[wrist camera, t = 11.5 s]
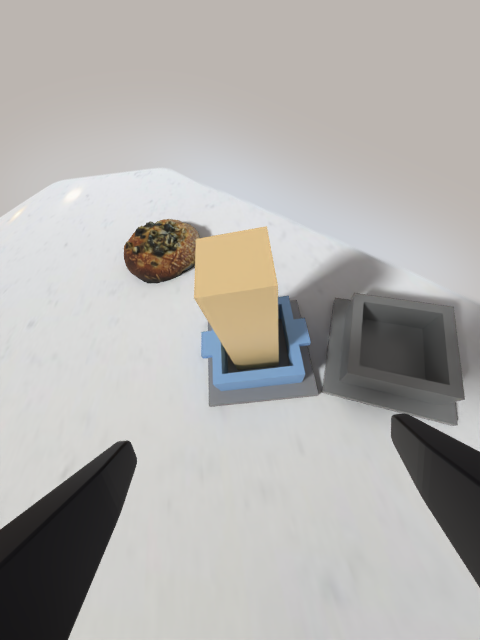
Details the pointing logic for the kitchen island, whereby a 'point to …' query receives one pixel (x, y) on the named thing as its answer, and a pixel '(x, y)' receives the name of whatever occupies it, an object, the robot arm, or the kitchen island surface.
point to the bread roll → (161, 250)
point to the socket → (395, 356)
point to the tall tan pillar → (240, 295)
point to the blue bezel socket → (265, 381)
